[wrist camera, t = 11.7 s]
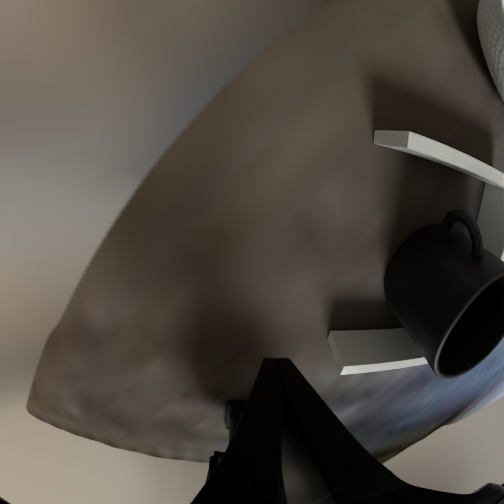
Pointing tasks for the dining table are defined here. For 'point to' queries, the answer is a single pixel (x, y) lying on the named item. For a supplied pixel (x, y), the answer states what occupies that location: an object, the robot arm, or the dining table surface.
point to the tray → (494, 240)
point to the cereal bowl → (492, 38)
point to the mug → (448, 295)
